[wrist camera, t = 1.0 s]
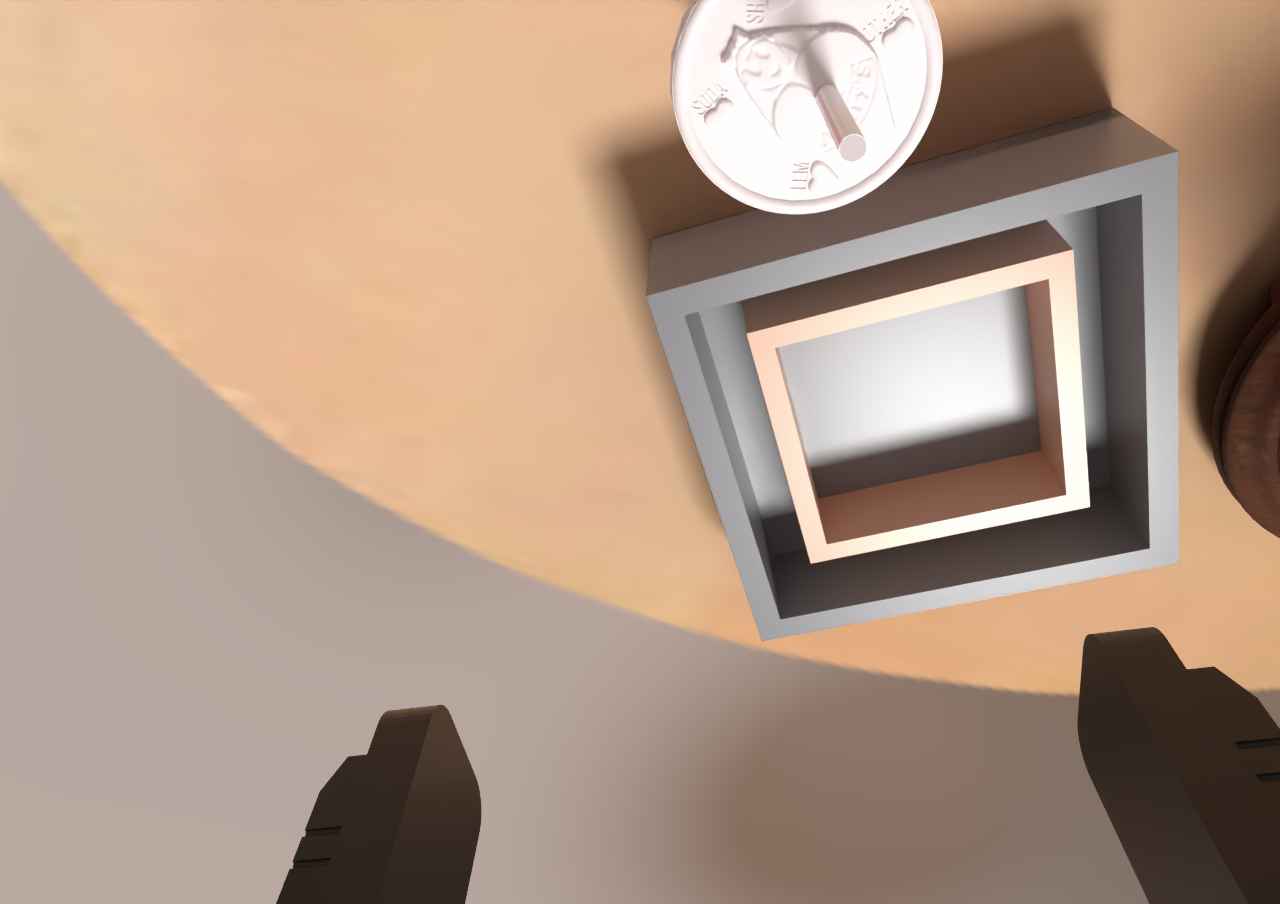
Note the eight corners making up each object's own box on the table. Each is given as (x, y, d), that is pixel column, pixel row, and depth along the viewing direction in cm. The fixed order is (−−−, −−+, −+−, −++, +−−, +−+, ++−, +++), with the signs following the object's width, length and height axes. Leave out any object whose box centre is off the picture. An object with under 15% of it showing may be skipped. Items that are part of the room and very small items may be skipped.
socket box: (651, 239, 34) (645, 296, 30) (1112, 107, 31) (1178, 150, 27) (755, 561, 42) (761, 641, 38) (1127, 484, 39) (1178, 562, 35)
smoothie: (813, 149, 32) (881, 333, 21) (643, 68, 31) (613, 214, 19) (917, -42, 29) (1069, 47, 17) (730, -141, 28) (758, -117, 16)
